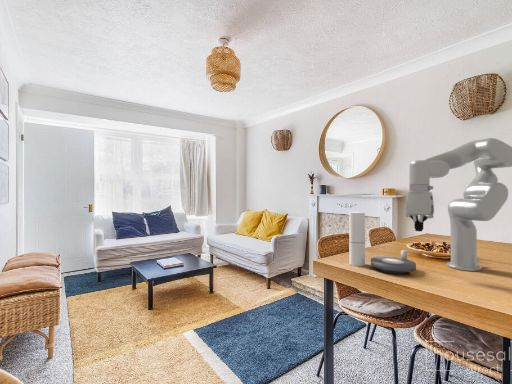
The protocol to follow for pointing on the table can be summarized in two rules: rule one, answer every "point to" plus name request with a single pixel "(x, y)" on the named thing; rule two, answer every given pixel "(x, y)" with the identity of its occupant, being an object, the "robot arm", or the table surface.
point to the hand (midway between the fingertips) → (418, 231)
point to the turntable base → (392, 271)
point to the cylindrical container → (357, 238)
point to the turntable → (394, 263)
